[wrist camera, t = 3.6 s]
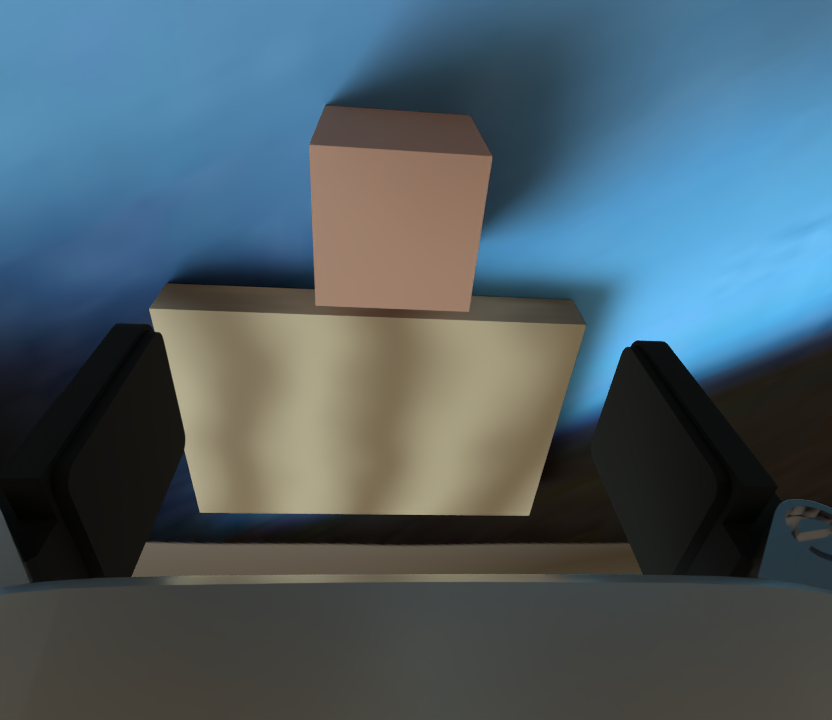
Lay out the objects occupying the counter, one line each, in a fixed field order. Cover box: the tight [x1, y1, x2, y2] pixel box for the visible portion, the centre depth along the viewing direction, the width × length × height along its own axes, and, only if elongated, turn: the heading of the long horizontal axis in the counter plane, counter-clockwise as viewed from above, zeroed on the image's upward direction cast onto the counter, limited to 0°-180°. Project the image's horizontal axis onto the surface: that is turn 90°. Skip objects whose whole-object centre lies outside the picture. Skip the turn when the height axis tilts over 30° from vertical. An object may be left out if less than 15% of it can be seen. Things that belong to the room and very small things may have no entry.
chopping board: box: [149, 283, 586, 516], centre depth 26 cm, size 17×12×2 cm
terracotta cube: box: [309, 105, 493, 312], centre depth 18 cm, size 5×5×5 cm
